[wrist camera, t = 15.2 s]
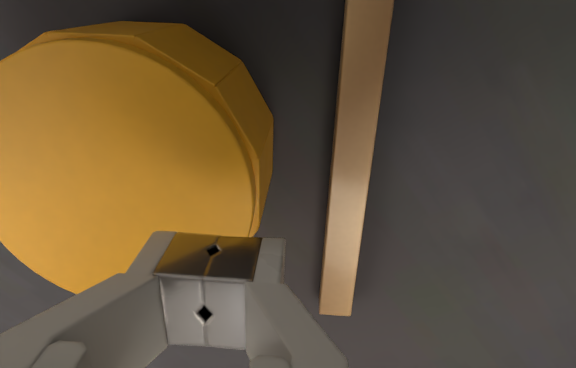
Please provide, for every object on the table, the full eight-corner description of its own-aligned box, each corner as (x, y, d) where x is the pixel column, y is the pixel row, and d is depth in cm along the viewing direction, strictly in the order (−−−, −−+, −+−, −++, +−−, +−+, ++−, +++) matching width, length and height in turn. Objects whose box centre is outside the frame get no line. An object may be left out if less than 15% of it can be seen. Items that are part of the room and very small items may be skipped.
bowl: (-96, 27, 10) (31, 17, 14) (4, 300, 14) (79, 225, 18) (256, 43, 10) (275, 27, 14) (256, 318, 14) (271, 237, 18)
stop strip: (401, -87, 12) (407, -94, 12) (349, 302, 19) (350, 316, 19) (353, -89, 12) (356, -95, 12) (318, 299, 20) (318, 314, 19)
